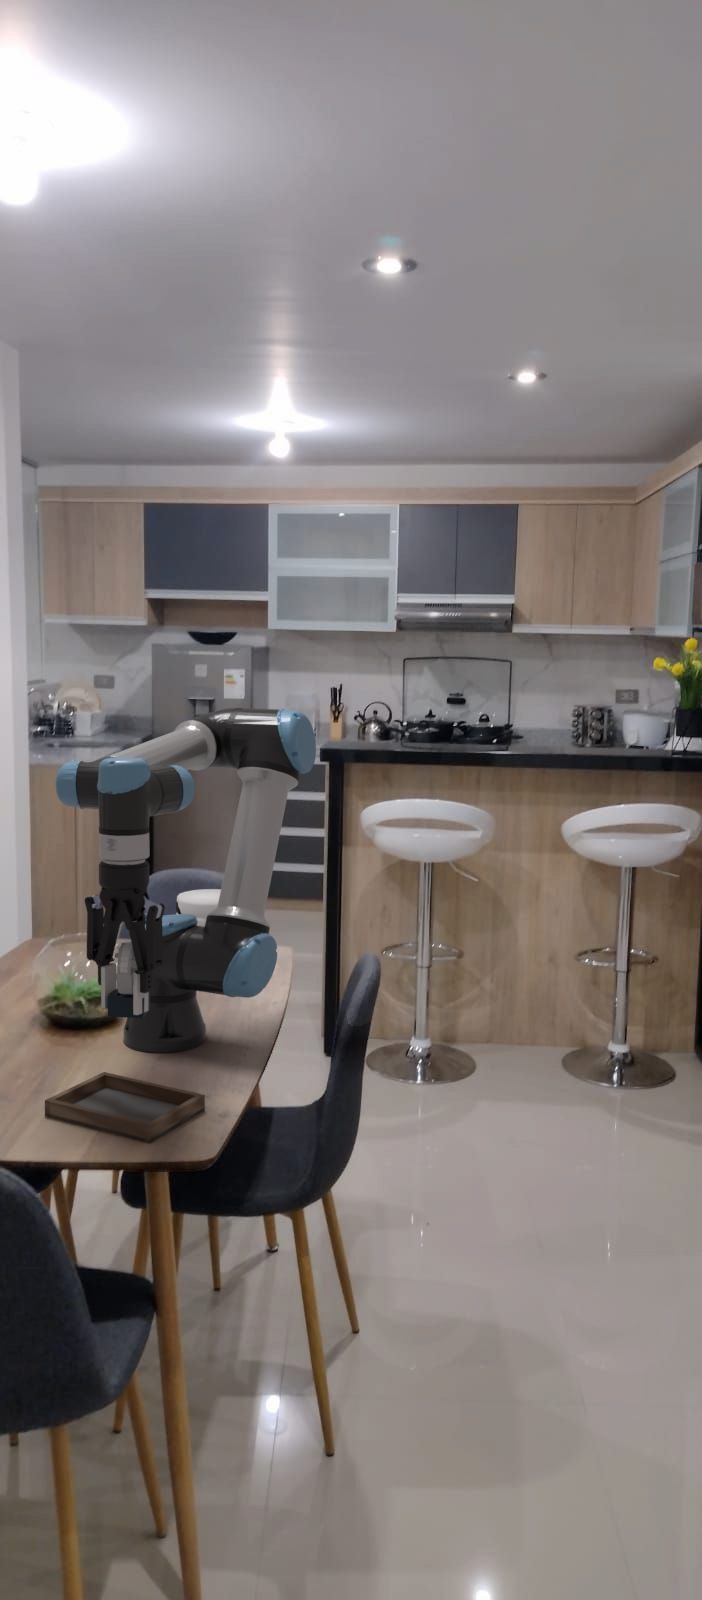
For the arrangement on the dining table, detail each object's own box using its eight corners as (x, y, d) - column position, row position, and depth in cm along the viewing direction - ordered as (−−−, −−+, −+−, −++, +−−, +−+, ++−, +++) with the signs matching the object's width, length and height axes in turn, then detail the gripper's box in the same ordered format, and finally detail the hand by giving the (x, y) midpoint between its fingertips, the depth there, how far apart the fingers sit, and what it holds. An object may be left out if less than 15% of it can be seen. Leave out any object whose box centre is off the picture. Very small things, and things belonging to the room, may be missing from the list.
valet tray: (104, 1087, 185) (104, 1071, 185) (204, 1110, 176) (204, 1094, 176) (44, 1116, 173) (44, 1100, 173) (149, 1143, 164) (149, 1126, 164)
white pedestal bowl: (170, 965, 261) (170, 888, 259) (245, 962, 264) (245, 887, 262) (173, 986, 244) (173, 904, 242) (253, 983, 247) (254, 902, 245)
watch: (152, 1006, 177) (153, 938, 176) (140, 1022, 169) (142, 950, 168) (117, 1004, 178) (118, 936, 176) (103, 1020, 170) (104, 948, 168)
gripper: (59, 858, 171) (61, 1006, 174) (158, 870, 162) (158, 1025, 165) (92, 851, 177) (93, 994, 180) (188, 862, 169) (188, 1012, 172)
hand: (124, 1009), depth 173 cm, fingers closed on watch, 5 cm apart
